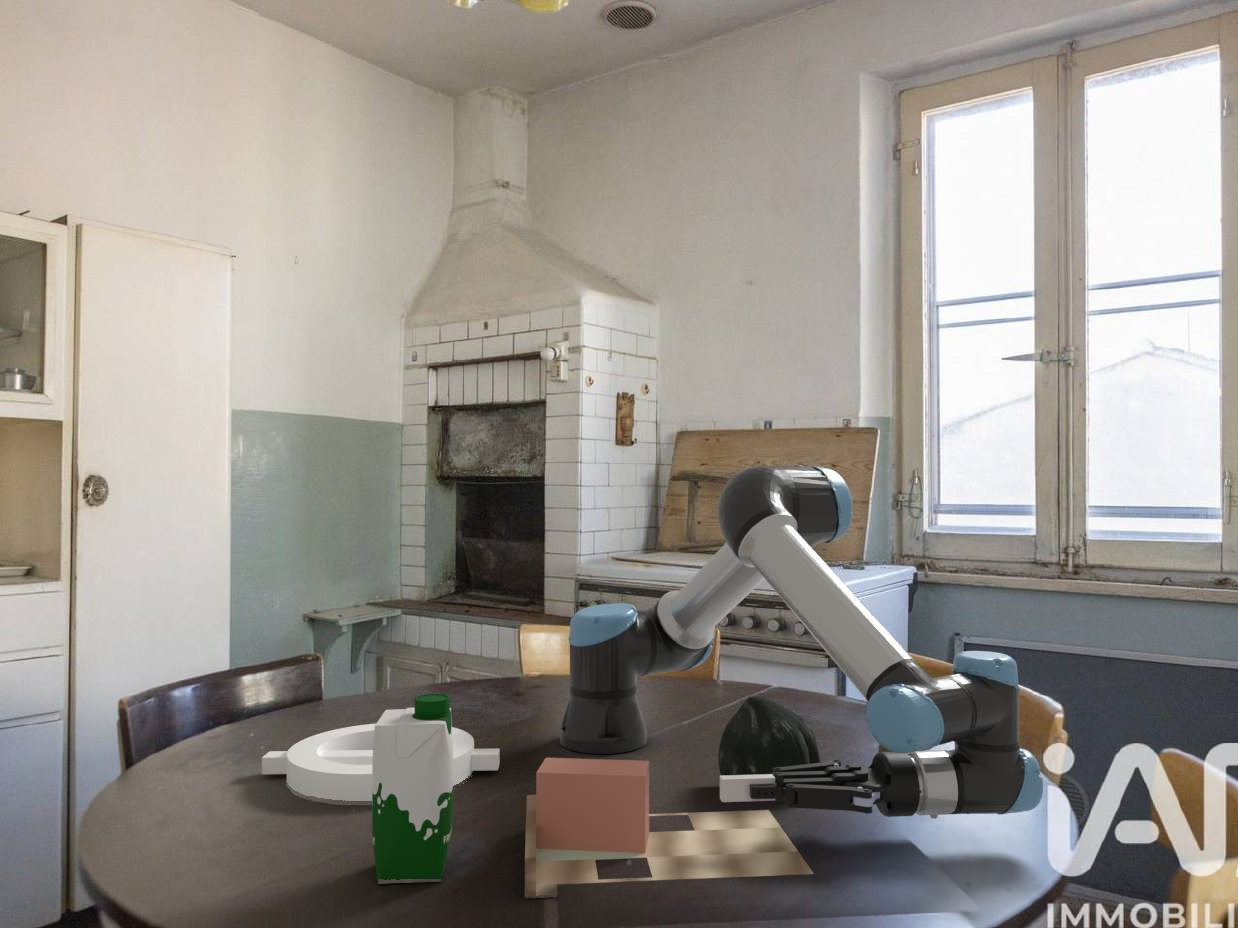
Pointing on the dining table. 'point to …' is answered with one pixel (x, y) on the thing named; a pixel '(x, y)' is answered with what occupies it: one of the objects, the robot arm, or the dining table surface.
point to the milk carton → (413, 789)
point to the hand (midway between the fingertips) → (721, 788)
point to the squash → (765, 739)
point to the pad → (579, 855)
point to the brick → (592, 805)
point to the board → (682, 852)
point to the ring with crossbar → (357, 762)
